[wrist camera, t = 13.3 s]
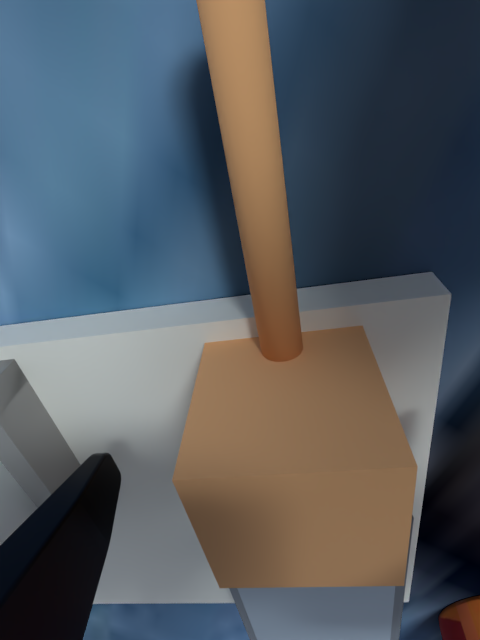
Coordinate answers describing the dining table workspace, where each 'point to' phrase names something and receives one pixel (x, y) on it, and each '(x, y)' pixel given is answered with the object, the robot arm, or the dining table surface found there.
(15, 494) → the block
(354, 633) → the grey piece
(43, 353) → the board
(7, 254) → the dining table surface
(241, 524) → the cable plug
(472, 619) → the paper cup
